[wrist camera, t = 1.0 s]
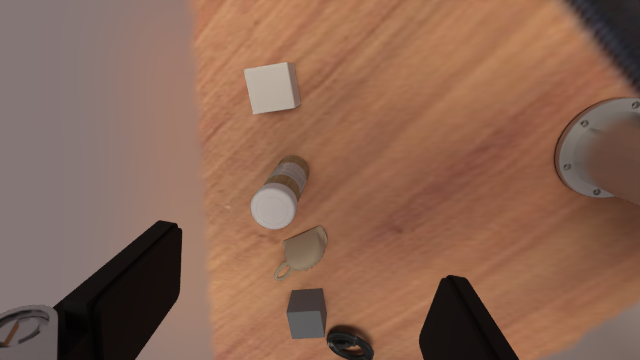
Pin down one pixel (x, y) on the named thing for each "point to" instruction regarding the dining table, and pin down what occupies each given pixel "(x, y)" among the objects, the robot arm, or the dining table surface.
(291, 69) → the off-white block
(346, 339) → the milk frother
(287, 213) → the sprinkles bottle
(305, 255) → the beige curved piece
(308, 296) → the charcoal block
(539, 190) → the dining table surface
